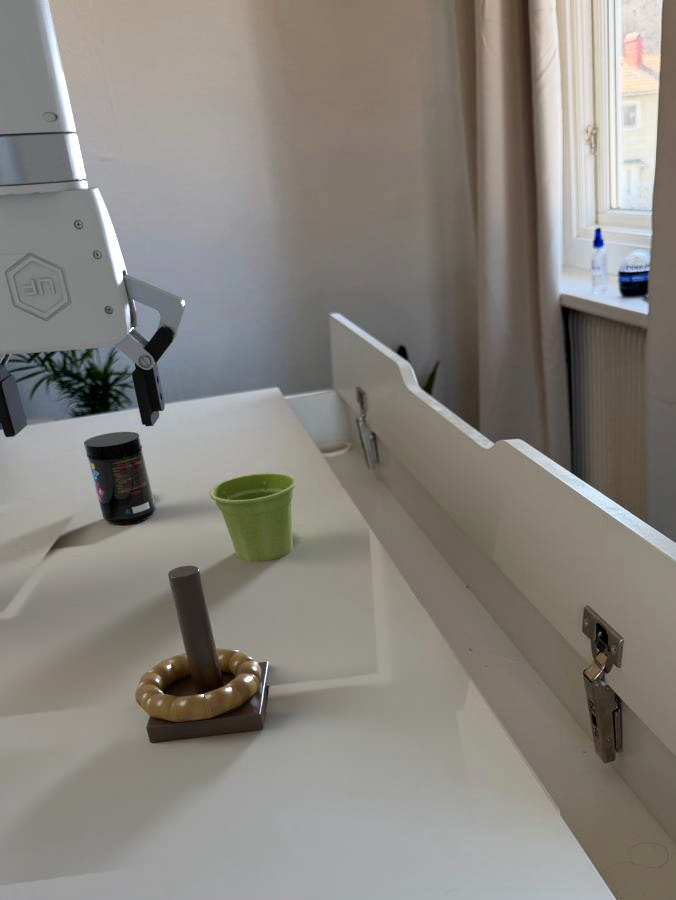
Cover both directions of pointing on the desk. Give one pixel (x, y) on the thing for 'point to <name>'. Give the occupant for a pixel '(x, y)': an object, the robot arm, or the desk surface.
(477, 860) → the desk surface
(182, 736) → the peg stand
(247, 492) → the plant pot
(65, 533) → the desk surface
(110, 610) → the desk surface
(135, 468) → the supplement container
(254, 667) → the ring
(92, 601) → the desk surface
